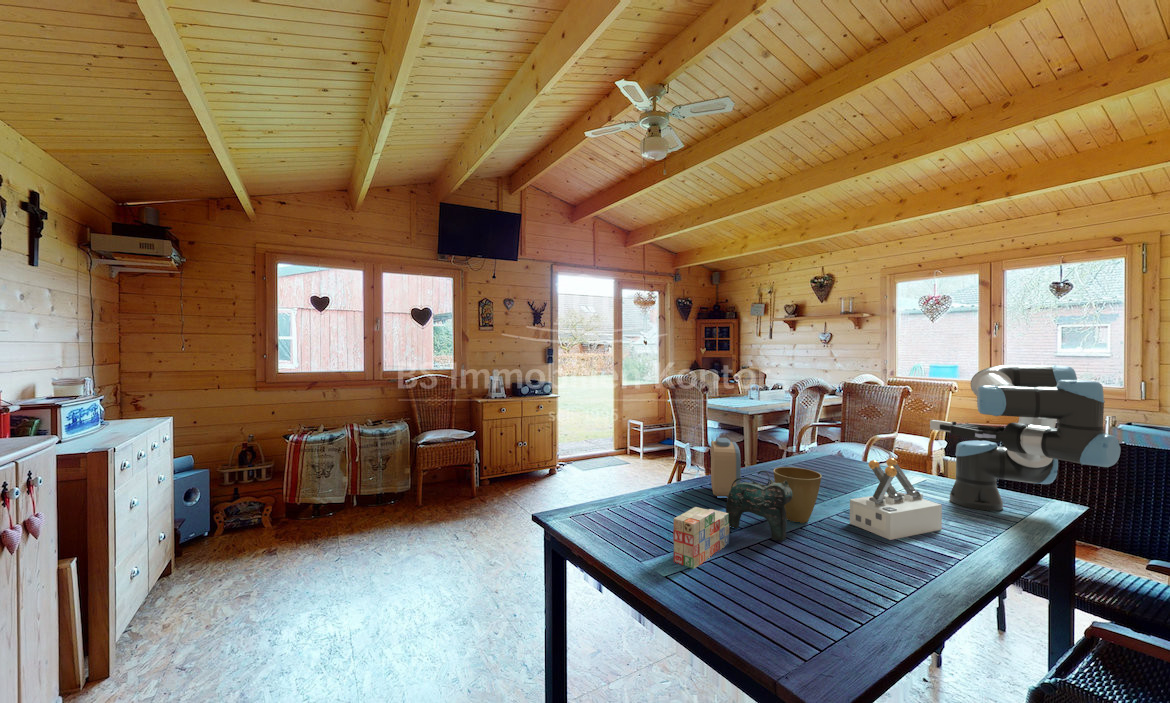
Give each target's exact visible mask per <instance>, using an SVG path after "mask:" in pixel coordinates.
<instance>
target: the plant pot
mask: <svg viewBox="0 0 1170 703" xmlns="http://www.w3.org/2000/svg"><path fill="white" fill-rule="evenodd" d="M772 473H773V478H774V480H773V481H774V483H783V482H784V481H785V480H786V481H787V482H788V485H789V487H790V488H791V490H792V499H791V501H790V502H788V503H787V504H785V505H784V507H785V510H786V520H787V519H788V520H790V521H789V522H791V521H794V522H793V523H795V522H800V523H799V524H805V522H806V523H808V521H809V519H810V518H811V515H812V513H813V511H814V509H815V508H814V507H815V505H816V502H817V498H818V496H819V495H818V494H819V492H820V487H821V481H822V476H823V475H822V474H821V473H820V472H818V471H814V470H812V469H808V468H802V467H794V466H780V467H775V468H774V469H773V472H772ZM788 520H787V521H788Z"/></svg>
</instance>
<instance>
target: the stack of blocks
mask: <svg viewBox="0 0 1170 703" xmlns="http://www.w3.org/2000/svg"><path fill="white" fill-rule="evenodd" d="M672 531H673V533H672V534H673V535H672V536H673V537H672V538H673V563H675V562H676V563H675V564H678V563H679V565H680V564H681V566H683V565H685V566H684V567H686V566H687V568H690V569H692V570H695V569H696V568H698V567H699V566H700V565H702V564H704V563H705V562H706V561H708V560H709V559H710V558H711V557H713V556H714V555H715V554H716V553H715V552H717V551H718V550H719V551H721V550H723V549H724V548H725V546H726V545H727V544H728V545H729V544H730V527H729V513H726V511H720V510H716V509H712V508H709V509H706V508H702V507H697V506H694V507H692V508H690V509H688V510H687V511H686V512H683V513H682V514H680V515H678V516H676V517H674V518H673V530H672ZM728 545H727V546H728ZM727 546H726V547H727ZM722 548H723V549H722ZM719 551H718V552H719ZM718 552H717V553H718ZM714 553H715V554H714ZM713 554H714V555H713ZM712 555H713V556H712ZM710 556H711V557H710ZM708 558H709V559H708ZM707 559H708V560H707ZM704 561H705V562H704ZM703 562H704V563H703Z"/></svg>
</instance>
